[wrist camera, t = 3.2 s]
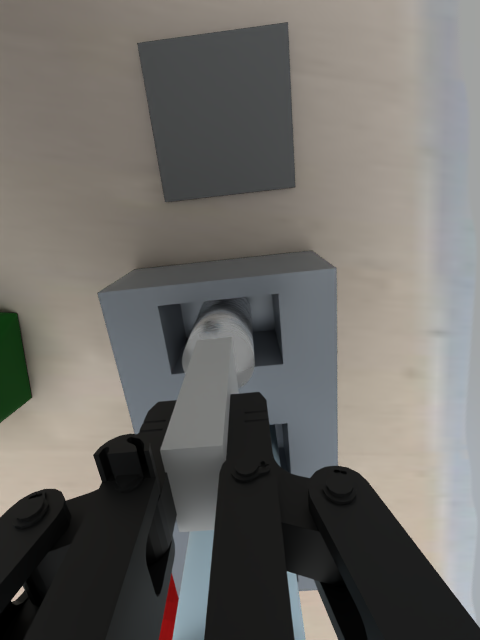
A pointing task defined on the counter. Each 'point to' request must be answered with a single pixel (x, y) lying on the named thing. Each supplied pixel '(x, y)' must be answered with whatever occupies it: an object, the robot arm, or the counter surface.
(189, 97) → the mat
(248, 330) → the plunger
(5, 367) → the milk carton
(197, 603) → the cartridge
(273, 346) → the housing
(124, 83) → the counter surface
